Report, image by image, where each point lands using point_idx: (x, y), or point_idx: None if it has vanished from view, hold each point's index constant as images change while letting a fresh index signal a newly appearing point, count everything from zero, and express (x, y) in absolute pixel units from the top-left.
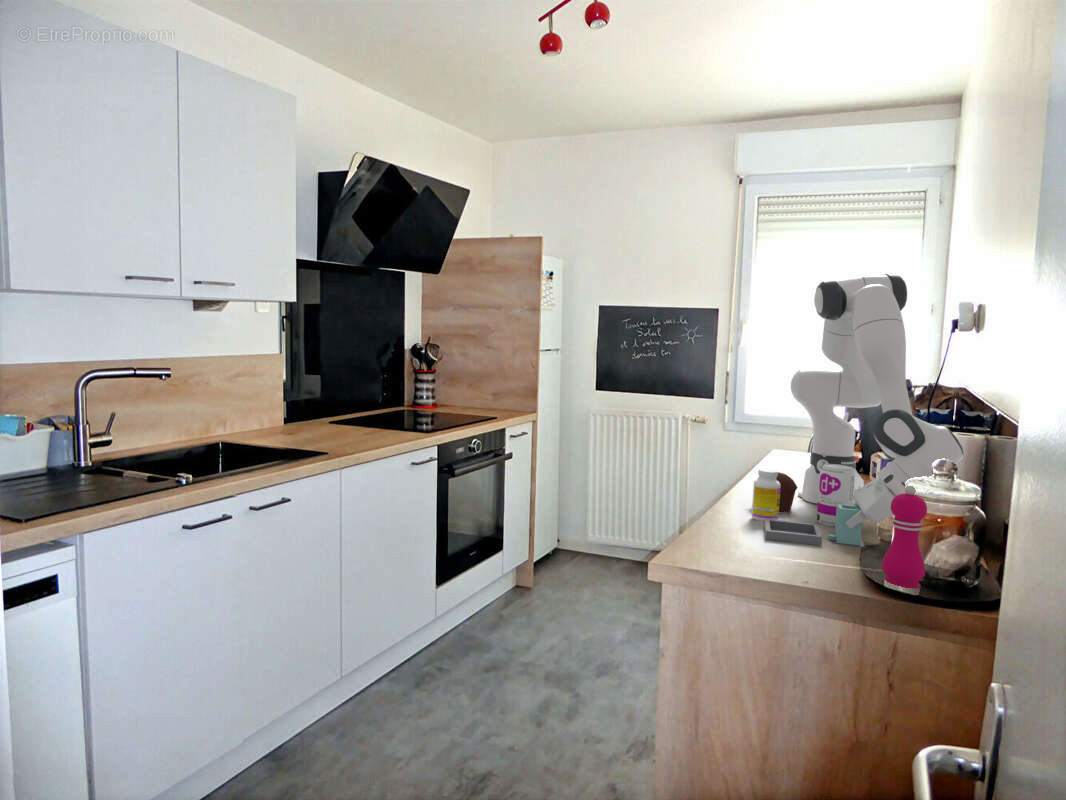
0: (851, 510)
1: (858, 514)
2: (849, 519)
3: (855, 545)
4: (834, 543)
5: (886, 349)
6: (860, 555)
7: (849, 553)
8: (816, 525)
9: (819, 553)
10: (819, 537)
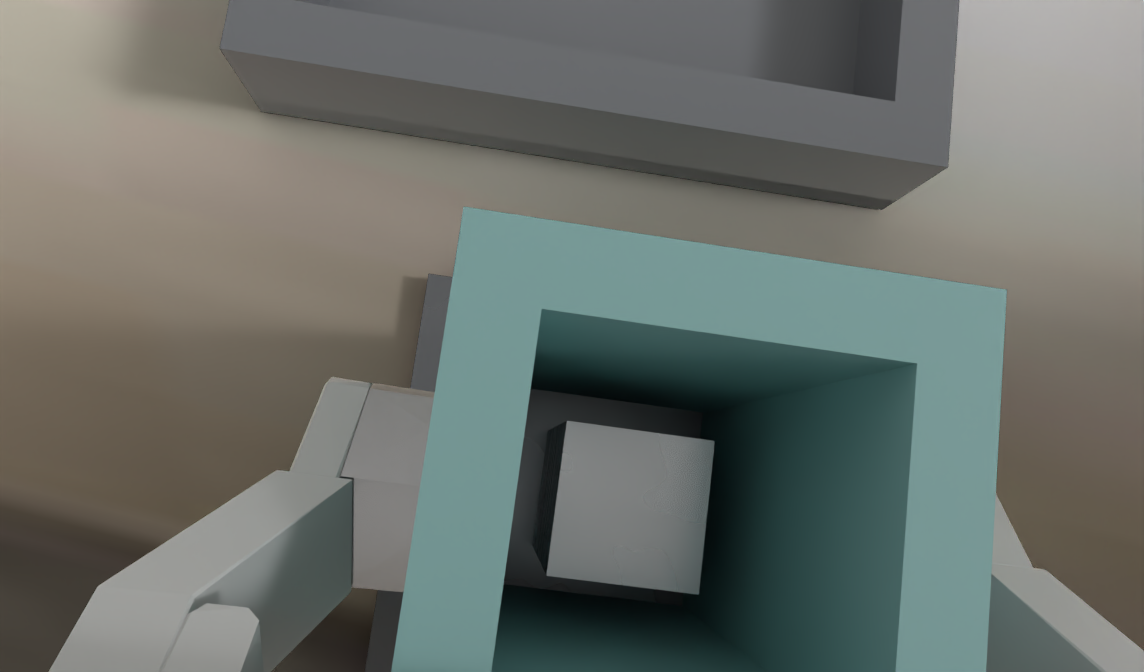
0: (424, 501)
1: (106, 601)
2: (307, 432)
3: None
4: (435, 300)
5: None
6: (32, 519)
7: (96, 399)
8: (879, 137)
9: (4, 31)
10: (231, 23)
